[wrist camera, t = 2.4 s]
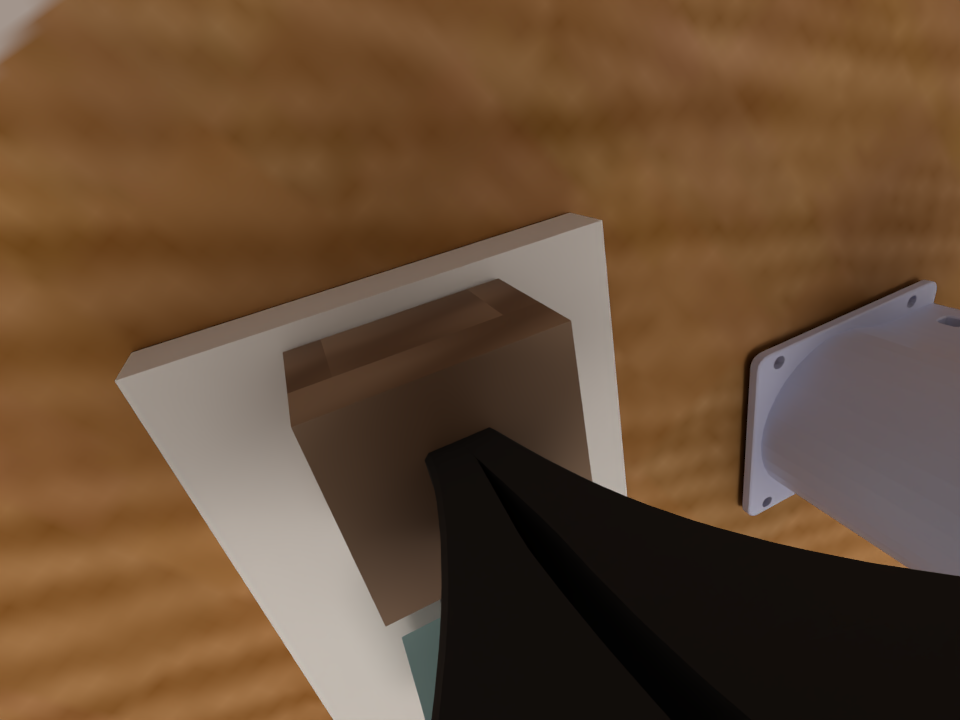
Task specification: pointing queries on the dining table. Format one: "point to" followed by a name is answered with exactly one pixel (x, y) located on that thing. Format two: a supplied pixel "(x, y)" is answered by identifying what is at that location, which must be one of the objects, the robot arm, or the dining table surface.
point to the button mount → (287, 475)
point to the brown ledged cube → (428, 419)
